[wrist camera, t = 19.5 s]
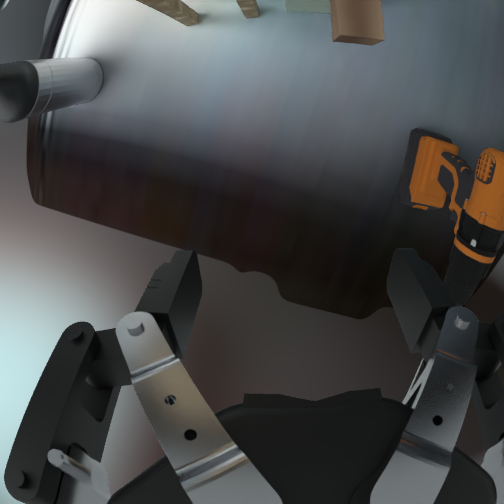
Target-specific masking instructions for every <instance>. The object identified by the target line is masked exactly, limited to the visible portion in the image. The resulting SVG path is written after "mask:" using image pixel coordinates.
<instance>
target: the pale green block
mask: <svg viewBox="0 0 504 504" xmlns="http://www.w3.org/2000/svg"><path fill="white" fill-rule="evenodd" d="M285 11H286V12H312V13H330V14H331V11H330V1H329V0H285Z"/></svg>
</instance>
